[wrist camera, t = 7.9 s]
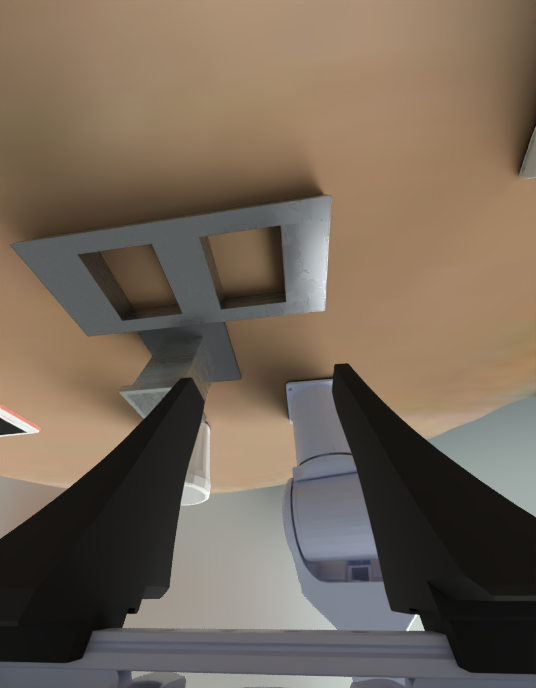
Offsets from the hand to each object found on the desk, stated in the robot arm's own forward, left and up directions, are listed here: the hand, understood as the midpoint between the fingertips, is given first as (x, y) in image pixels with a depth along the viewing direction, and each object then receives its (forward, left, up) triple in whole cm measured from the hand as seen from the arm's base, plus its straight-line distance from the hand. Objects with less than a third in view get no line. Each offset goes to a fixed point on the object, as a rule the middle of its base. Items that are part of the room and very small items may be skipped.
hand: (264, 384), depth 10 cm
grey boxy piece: (-6, +9, -10) cm, 15 cm away
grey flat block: (+3, +6, -10) cm, 12 cm away
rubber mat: (-6, +9, -10) cm, 15 cm away
